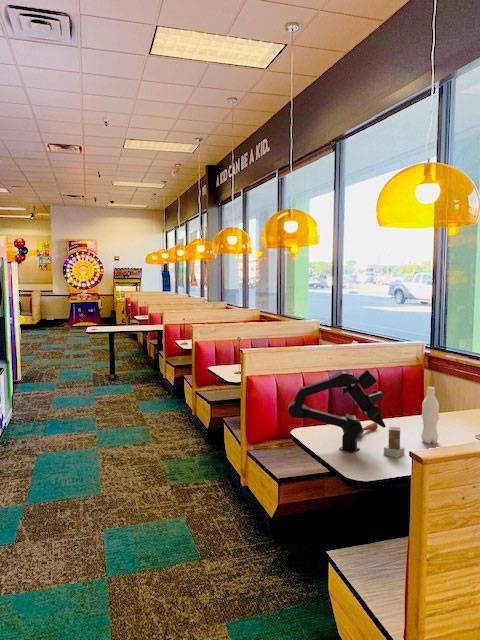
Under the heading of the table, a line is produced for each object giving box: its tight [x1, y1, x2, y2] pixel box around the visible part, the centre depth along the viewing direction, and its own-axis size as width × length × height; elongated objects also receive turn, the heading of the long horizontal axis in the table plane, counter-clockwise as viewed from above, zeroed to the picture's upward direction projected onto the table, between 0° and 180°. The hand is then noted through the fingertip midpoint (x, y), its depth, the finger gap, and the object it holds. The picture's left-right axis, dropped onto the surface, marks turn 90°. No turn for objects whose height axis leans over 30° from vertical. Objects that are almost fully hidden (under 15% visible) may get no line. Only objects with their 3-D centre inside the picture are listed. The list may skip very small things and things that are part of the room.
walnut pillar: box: [387, 426, 401, 450], centre depth 202 cm, size 4×4×8 cm
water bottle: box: [420, 386, 440, 445], centre depth 216 cm, size 7×7×25 cm
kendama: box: [357, 422, 379, 439], centre depth 229 cm, size 6×6×20 cm
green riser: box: [383, 444, 405, 459], centre depth 203 cm, size 6×6×3 cm
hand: (382, 425), depth 205 cm, fingers open, 9 cm apart
